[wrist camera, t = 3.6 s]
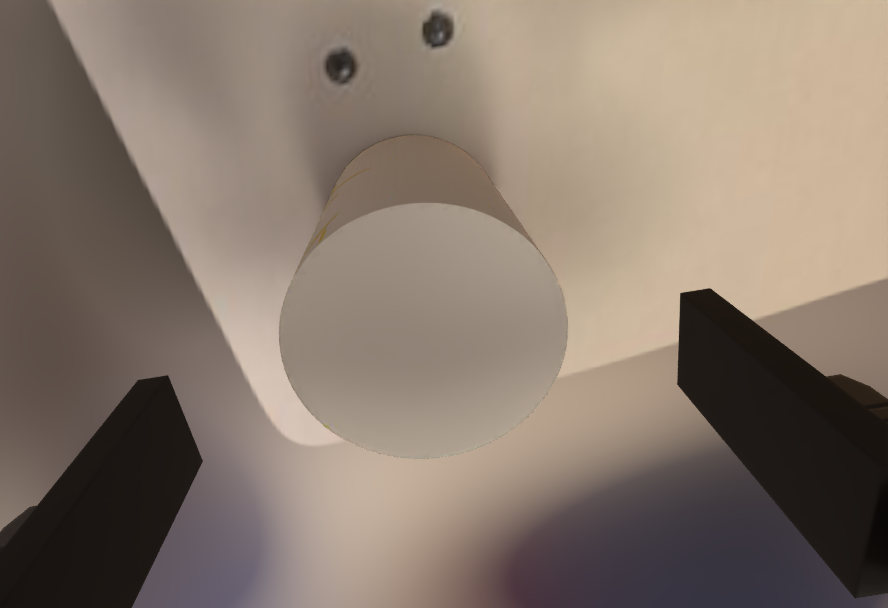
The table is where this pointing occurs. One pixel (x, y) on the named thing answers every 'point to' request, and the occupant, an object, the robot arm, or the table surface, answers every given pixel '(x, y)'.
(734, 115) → the table surface
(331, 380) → the white patterned cylinder
